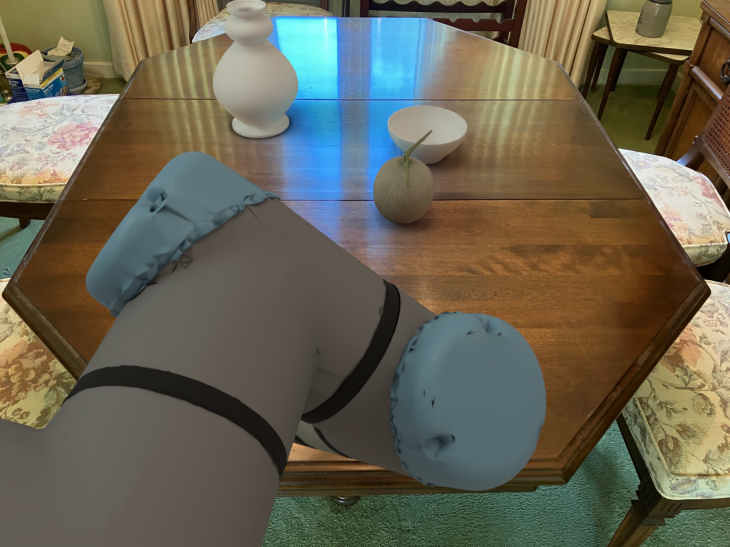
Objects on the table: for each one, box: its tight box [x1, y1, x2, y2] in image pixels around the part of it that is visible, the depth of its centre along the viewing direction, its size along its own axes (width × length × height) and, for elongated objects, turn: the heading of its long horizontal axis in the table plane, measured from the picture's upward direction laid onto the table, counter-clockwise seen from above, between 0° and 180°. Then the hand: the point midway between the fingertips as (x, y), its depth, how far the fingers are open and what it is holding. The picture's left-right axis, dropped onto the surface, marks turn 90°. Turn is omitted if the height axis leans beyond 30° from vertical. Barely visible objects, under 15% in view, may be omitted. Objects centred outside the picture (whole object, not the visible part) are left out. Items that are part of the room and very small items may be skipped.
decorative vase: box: [212, 0, 299, 139], centre depth 114 cm, size 18×18×25 cm
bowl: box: [387, 105, 469, 165], centre depth 112 cm, size 16×16×7 cm
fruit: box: [372, 130, 435, 225], centre depth 94 cm, size 10×12×15 cm
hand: (231, 384), depth 56 cm, fingers closed
